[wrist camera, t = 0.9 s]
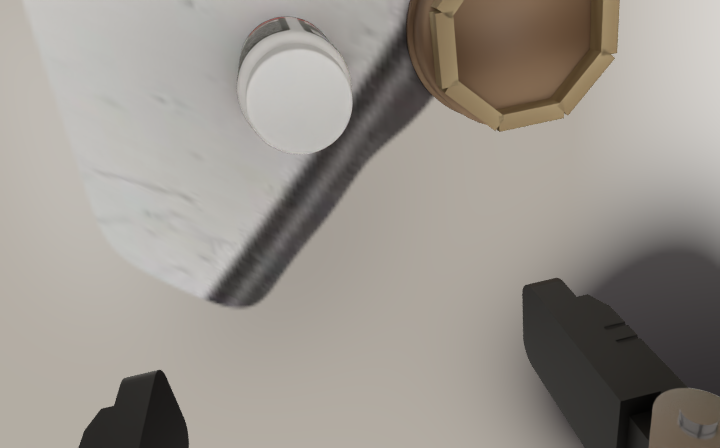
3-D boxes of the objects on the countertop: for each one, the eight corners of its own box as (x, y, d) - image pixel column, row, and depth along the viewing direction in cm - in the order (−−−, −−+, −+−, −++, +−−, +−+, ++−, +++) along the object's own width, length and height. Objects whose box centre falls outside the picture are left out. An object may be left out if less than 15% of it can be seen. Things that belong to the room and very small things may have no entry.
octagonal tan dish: (394, -62, 26) (415, -65, 23) (586, -98, 27) (635, -105, 24) (417, 131, 31) (438, 154, 27) (582, 96, 32) (623, 114, 28)
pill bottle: (240, 109, 29) (234, 164, 21) (239, 12, 27) (232, 35, 19) (331, 113, 30) (356, 167, 22) (337, 19, 28) (366, 43, 20)
